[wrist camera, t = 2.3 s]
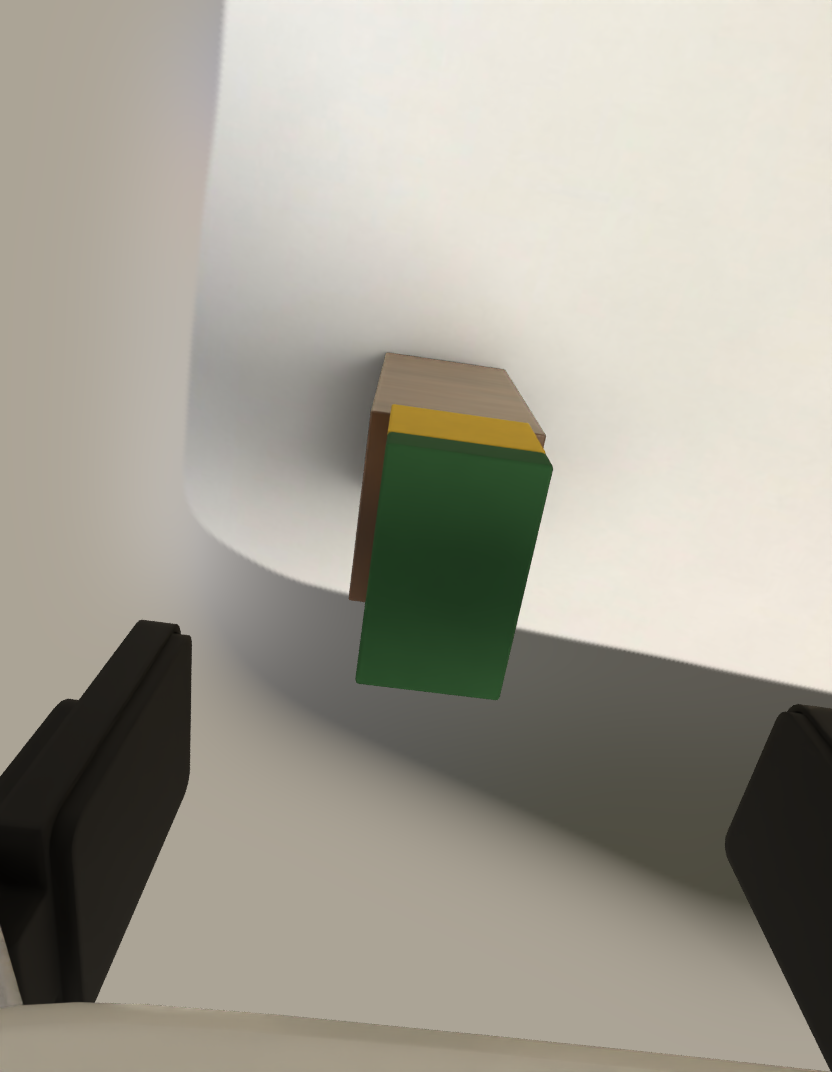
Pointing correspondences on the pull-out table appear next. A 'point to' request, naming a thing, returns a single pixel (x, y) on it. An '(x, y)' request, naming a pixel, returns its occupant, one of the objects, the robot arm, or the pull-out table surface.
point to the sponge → (450, 551)
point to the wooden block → (430, 390)
